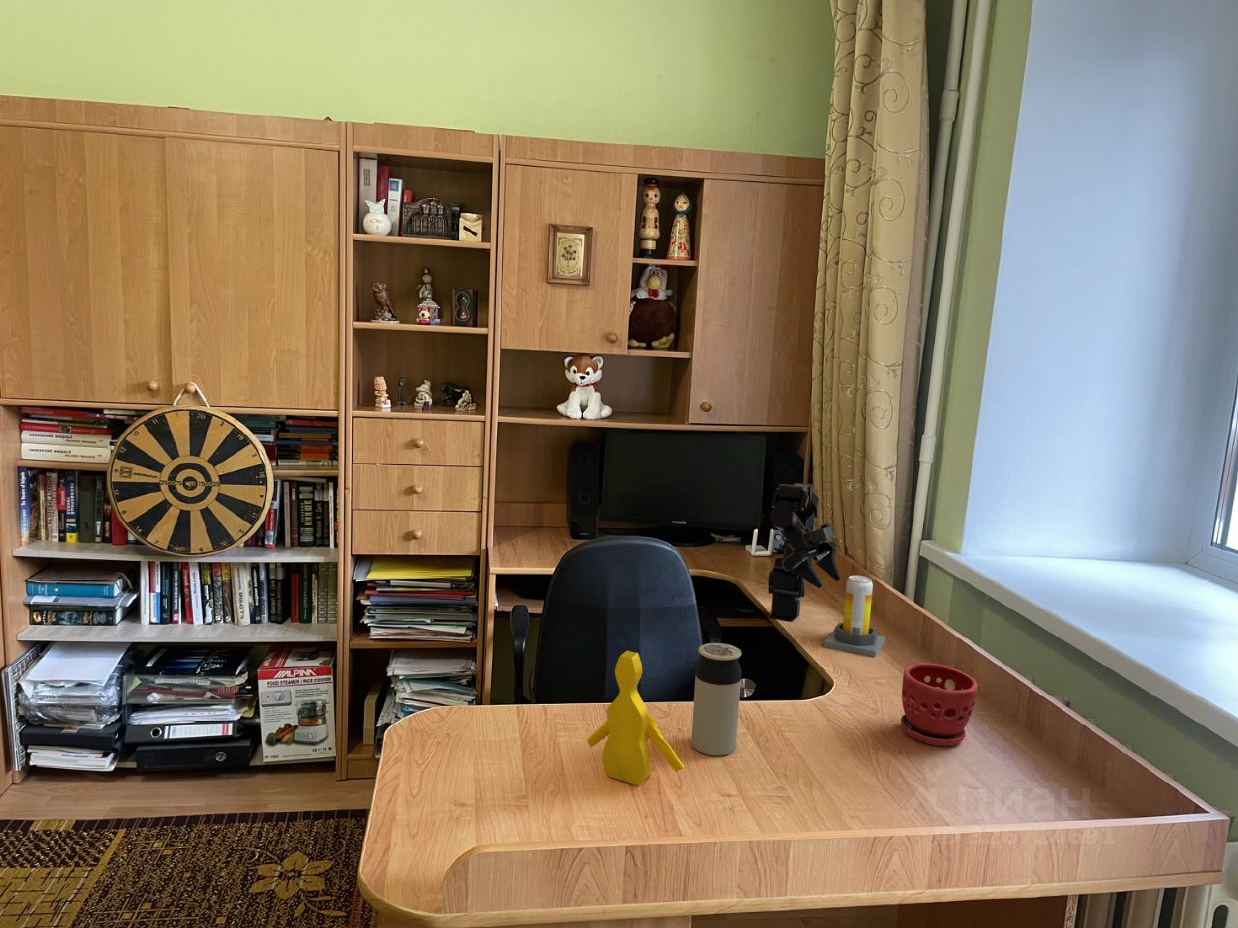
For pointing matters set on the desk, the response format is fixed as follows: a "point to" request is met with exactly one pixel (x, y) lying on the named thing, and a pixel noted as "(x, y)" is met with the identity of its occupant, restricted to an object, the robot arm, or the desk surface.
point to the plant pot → (937, 703)
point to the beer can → (857, 605)
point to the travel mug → (716, 699)
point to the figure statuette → (630, 729)
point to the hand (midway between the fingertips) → (829, 583)
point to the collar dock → (855, 641)
